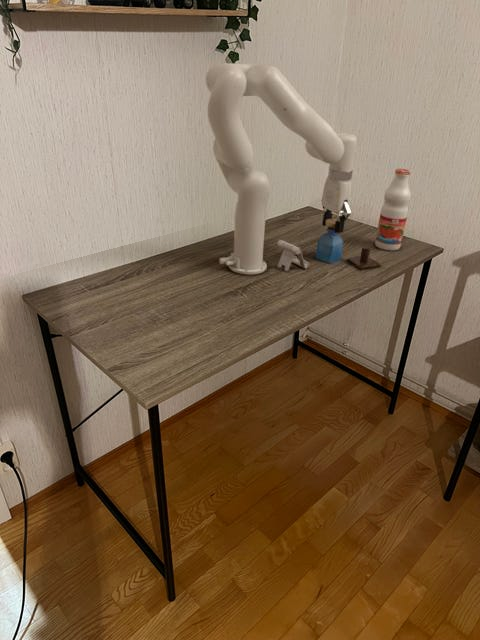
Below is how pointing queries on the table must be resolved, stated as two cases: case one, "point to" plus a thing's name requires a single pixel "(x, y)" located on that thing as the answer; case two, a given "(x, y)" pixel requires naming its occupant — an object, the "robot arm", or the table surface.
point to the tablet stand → (291, 256)
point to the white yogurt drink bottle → (394, 212)
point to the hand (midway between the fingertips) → (332, 228)
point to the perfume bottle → (329, 246)
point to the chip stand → (363, 260)
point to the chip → (331, 222)
